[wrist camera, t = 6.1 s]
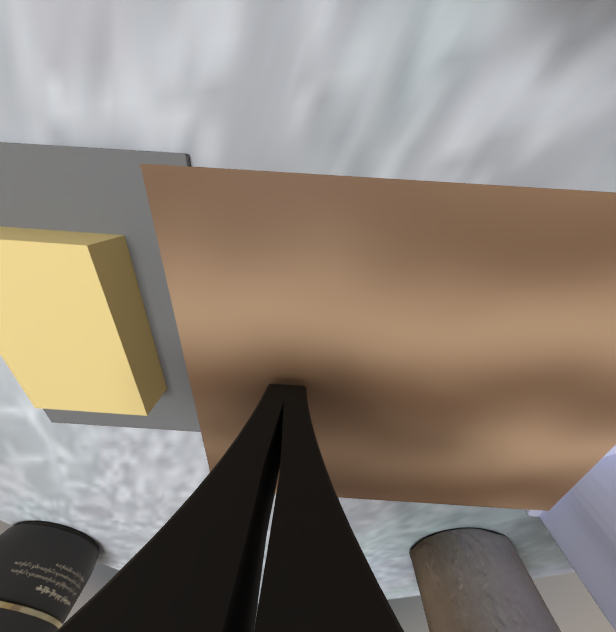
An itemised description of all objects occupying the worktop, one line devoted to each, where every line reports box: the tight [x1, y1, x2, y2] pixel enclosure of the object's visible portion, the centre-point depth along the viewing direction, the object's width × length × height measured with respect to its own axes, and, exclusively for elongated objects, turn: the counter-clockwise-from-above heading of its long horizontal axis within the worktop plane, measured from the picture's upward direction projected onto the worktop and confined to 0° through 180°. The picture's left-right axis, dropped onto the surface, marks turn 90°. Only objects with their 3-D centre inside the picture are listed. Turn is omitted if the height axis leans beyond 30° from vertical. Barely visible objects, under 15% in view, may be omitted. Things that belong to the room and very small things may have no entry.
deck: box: [140, 164, 616, 511], centre depth 12 cm, size 15×18×4 cm
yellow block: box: [0, 227, 167, 416], centre depth 12 cm, size 9×6×2 cm, turn 176°
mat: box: [0, 142, 201, 432], centre depth 13 cm, size 16×12×1 cm
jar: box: [0, 521, 98, 632], centre depth 23 cm, size 10×10×8 cm
